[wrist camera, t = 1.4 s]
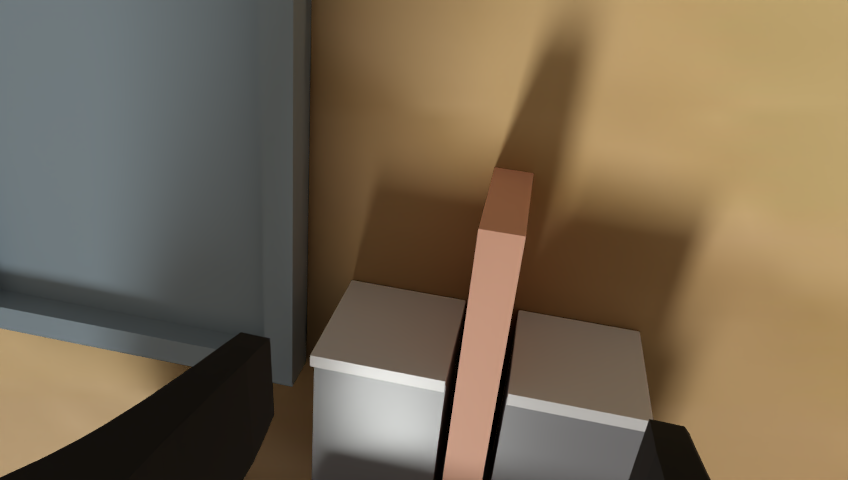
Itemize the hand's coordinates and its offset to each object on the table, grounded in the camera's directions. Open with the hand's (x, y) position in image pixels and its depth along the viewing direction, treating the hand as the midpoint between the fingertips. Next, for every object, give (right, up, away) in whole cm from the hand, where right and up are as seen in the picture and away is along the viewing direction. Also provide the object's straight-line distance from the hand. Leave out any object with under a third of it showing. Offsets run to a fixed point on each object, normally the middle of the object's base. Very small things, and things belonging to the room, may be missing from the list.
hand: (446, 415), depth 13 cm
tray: (-10, +7, +10) cm, 16 cm away
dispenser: (+1, -3, +13) cm, 13 cm away
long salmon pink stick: (+2, +1, +11) cm, 11 cm away
